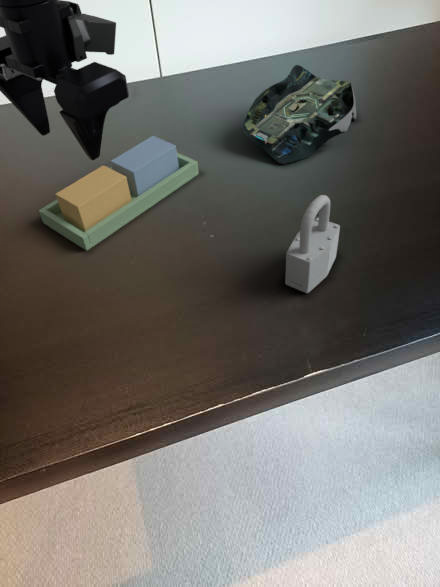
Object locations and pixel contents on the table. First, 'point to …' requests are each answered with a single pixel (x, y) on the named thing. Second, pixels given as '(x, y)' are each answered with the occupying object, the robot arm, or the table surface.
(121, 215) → the tray
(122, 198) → the tan block
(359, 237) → the table surface
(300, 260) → the padlock
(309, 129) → the model
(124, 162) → the blue block
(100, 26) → the robot arm
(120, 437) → the table surface
